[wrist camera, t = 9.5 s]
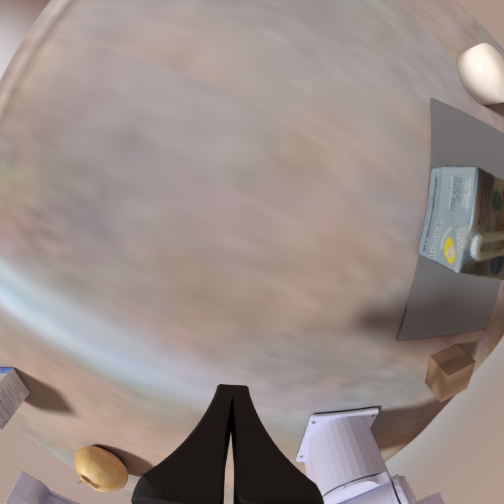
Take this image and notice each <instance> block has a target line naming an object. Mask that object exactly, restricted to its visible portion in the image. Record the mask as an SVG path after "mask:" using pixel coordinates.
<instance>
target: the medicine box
mask: <svg viewBox="0 0 504 504" xmlns="http://www.w3.org/2000/svg"><path fill="white" fill-rule="evenodd" d="M28 394H29V391H28V389H27V388H26V386H25V385H24V383H23V381H22V380H21V378H20V377H19V375H18V374H17V372H16V371H15V369H14V368H4V367H0V429H1V430H2V429H3V428H4V427H5V425H6V424H7V423H8V421H9V420H10V419H11V417H12V416H13V414H14V413H15V412H16V410H17V409H18V408H19V406H20V405H21V404H22V402H23V401H24V400H25V398H26V397H27V396H28Z"/></svg>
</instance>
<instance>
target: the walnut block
mask: <svg viewBox="0 0 504 504" xmlns="http://www.w3.org/2000/svg"><path fill="white" fill-rule="evenodd" d="M474 365H475V361H474V360H473V359H472V358H471V357H470V356H469V355H468V354H467V353H466V352H465V351H464V350H463V349H462V348H460V347H459V346H458V345H457V344H455V345H453V346H451V347H449V348H447V349H445V350H443V351H440V352H438V353H436V354H434V355H431V356H430V359H429V364H428V369H427V374H426V379H425V383H426V384H427V385H428V387H429V388H430V389H431V391H432V392H433V393H434V395H435V396H436V397H437V399H438V400H439V401H440V403H441V402H443V401H445V400H447V399H448V398H450V397H452V396H454V395H456V394H458V393H459V392H461V391H463V390H465V389H466V388H467V387H468V384H469V381H470V378H471V375H472V372H473V368H474Z"/></svg>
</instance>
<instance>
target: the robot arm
mask: <svg viewBox="0 0 504 504" xmlns="http://www.w3.org/2000/svg"><path fill="white" fill-rule="evenodd" d="M378 412H379V410H378V408H369V409H362V410H355V411H346V412H337V413H326V414H314V415H312V416H311V417H310V419H309V422H308V425H307V429H306V432H305V435H304V438H303V441H302V443H301V446H300V449H299V452H298V455H297V458H296V461H297V462H304V463H305V468H306V473H307V477H306V476H305V475H304V474H303V473H302V472H301V471H299V470H298V469H297V468H296V467H295V466H294V465H293V464H292V463H291V462H290V461H289V460H288V459H287V458H286V457H285V455H284V454H283V453H282V452H281V451H280V450H279V448H278V447H277V446H276V445H275V443H274V442H273V440H272V439H271V437H270V436H269V434H268V433H267V431H266V430H265V428H264V426H263V424H262V423H261V421H260V419H259V417H258V415H257V412H256V410H255V408H254V405H253V403H252V400H251V397H250V394H249V389H248V387H247V386H244V385H225V384H220V385H218V386H217V390H216V393H215V395H214V397H213V400H212V402H211V404H210V405H209V407H208V409H207V411H206V413H205V414H204V416H203V417H202V419H201V420H200V422H199V423H198V425H197V426H196V428H195V429H194V430H193V431H192V433H191V434H190V435H189V436H188V437H187V439H186V440H185V441H184V442H183V443H182V444H181V445H180V446H179V447H178V448H177V449H176V450H175V451H174V452H173V453H172V454H170V455H169V456H168V457H167V458H166V459H164V460H163V461H162V462H161V463H159V464H158V465H156V466H155V467H153V468H152V469H150V470H149V471H147V472H146V473H144V474H143V475H142V476H141V478H140V479H139V481H138V483H137V485H136V487H135V489H134V492H133V496H132V500H131V502H132V504H224V481H225V467H226V460H227V454H228V448H229V441H230V435H231V436H232V449H233V461H234V504H445V503H444V501H443V499H442V497H441V495H440V493H435V494H433V495H431V496H428V497H426V498H424V499H421V500H419V501H417V500H416V498H415V495H414V493H413V491H412V489H411V487H410V485H409V483H408V481H407V479H406V478H405V476H399V475H398V474H397V475H396V476H394V477H391V476H390V474H389V472H388V469H387V467H386V465H385V462H384V460H383V458H382V455H381V453H380V451H379V448H378V446H377V444H376V441H375V439H374V437H373V435H372V432H371V430H370V428H371V426H372V424H373V422H374V420H375V418H376V416H377V414H378ZM5 504H79V503H77V502H74V501H72V500H70V499H68V498H65V497H63V496H61V495H59V494H57V493H55V492H53V491H51V490H49V488H48V487H47V486H46V485H45V484H44V483H43V482H41V481H40V480H38V479H36V478H34V477H33V476H31V475H29V474H28V473H26V472H24V471H21V473H20V475H19V476H18V478H17V480H16V482H15V484H14V486H13V488H12V489H11V491H10V493H9V495H8V497H7V499H6V501H5Z"/></svg>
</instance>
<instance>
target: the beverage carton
mask: <svg viewBox="0 0 504 504" xmlns="http://www.w3.org/2000/svg"><path fill="white" fill-rule="evenodd" d="M419 254H420V255H421V256H423V257H426V258H427V259H429V260H431V261H433V262H435V263H437V264H439V265H441V266H443V267H444V268H446V269H449V270H451V271H453V272H456V273H463V274H469V275H472V276H476V277H485V278H491V279H499V280H504V180H502V179H500V178H497V177H495V176H494V175H493V174H491V173H489V172H486V171H485V170H483V169H481V168H479V167H476V166H460V165H454V166H448V165H444V166H443V167H436V168H433V169H432V172H431V183H430V189H429V198H428V205H427V211H426V218H425V223H424V228H423V233H422V237H421V241H420V247H419Z"/></svg>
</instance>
